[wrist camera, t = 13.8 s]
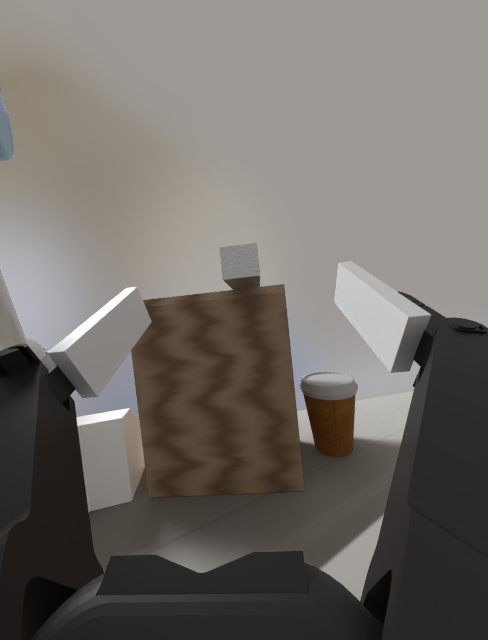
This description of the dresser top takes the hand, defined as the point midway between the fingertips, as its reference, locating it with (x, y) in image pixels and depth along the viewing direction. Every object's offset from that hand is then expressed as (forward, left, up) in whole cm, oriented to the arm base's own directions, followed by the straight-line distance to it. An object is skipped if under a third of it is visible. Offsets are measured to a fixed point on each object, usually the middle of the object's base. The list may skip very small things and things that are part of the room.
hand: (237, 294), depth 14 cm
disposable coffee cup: (+12, +24, -26) cm, 37 cm away
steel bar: (0, +17, +2) cm, 17 cm away
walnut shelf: (-6, +20, -26) cm, 33 cm away
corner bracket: (-25, +15, -26) cm, 39 cm away
